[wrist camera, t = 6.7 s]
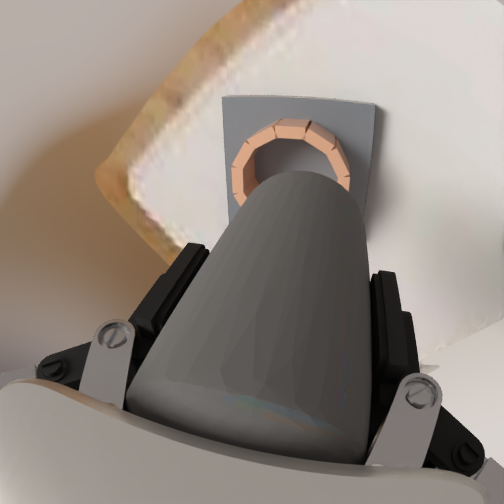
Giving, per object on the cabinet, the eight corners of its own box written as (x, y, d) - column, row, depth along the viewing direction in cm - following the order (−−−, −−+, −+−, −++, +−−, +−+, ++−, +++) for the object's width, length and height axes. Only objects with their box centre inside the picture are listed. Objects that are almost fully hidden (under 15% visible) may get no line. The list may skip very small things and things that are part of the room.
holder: (373, 103, 25) (381, 110, 21) (358, 234, 33) (360, 263, 28) (227, 95, 28) (205, 102, 24) (233, 220, 36) (216, 245, 32)
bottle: (224, 244, 16) (60, 538, 4) (273, 144, 13) (-5, 574, 1) (323, 295, 17) (252, 603, 4) (389, 211, 13) (393, 644, 1)
